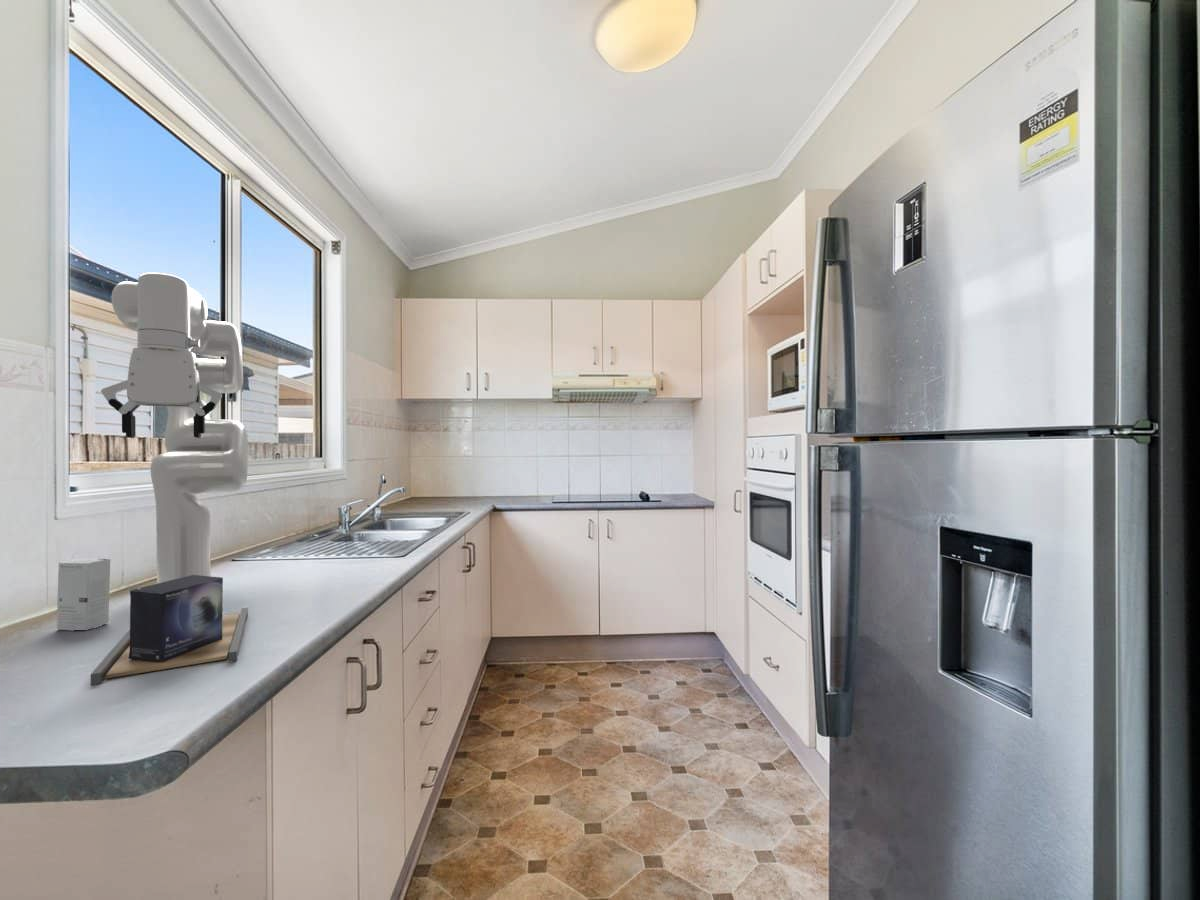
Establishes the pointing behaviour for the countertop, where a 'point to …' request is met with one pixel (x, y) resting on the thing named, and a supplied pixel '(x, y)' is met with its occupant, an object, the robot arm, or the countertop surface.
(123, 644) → the guide rails
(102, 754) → the countertop surface
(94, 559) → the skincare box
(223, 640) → the thin plywood board
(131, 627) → the small box
